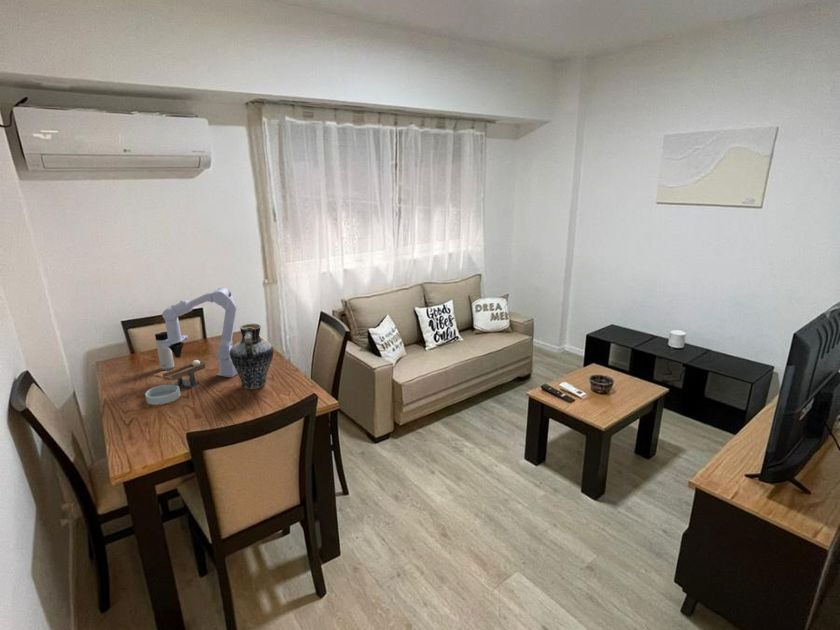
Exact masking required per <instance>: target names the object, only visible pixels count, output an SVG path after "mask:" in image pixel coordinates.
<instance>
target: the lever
mask: <svg viewBox="0 0 840 630" xmlns="http://www.w3.org/2000/svg"><path fill="white" fill-rule="evenodd" d="M197 360H198V359H197ZM198 361H200V365H197V366H195V367H194V366H193V365H192V363H193V362H192V363H189V364H186V365H184V366H180V367H178V368H174V369H171V370H167V371H163V370H161V371H159V372H157V373H154V374H153V378H159V379H163V380H167V381H176V380H177V379H179V378H181V377H182V378H184V377H186V376H189V373H190V372H192V371H193V372H194V373H196V372H198V371H201V370H205V369H206V363H205V361H204V360H198ZM189 377H190V376H189Z"/></svg>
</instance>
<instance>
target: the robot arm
mask: <svg viewBox="0 0 840 630" xmlns="http://www.w3.org/2000/svg"><path fill="white" fill-rule="evenodd" d="M206 302H209V303H215V304H216V305H218V306H220V307H222V308H223V309H224V310H225V312H224V319H223V324H222V325H223V326H222V332H221V338H220V339H221V340H220V343H219V347H218V349H217V351H216V352H215V353H216V357H217V359H218V366H219V372H218V373H216V376H220V377H221V376H222V377H226V378H233V377H236V376H237V375H238V372H237V370H236V369H235V367H234V365H233V363H232V360H231V357H230V349H231V348H232V347H233V346H234V344H233V334H234V328H235V323H236V321H235V320H236V315H237V308H238V305H237V303H236V300H235V298H234V297H233V292H231V291H230V290H229V288H227V287H219V288H218V289H217V288H215V289H213V290H211V291H208V292H206V293H203V294H201V295H200V296H198V297H196V298H193V299H191V300H187V299H185V300H184V299H182V300H180V301H179V303H177V304H171V305H170V306H169V307H167V308H166V309H164V310H163V312H162V314H161V315H162V316H161V317H162V318H163V319H164V322H165V327H166V328H165V329H166V332H167V335H168V339H167V342H165V343H164V344H162V348H164V349H166V348H167V347H169V348H170V349H171V350H172V355H174V356H173V357H175V358H176V359H178V358H179V359H180V358H181V356H182V350H183V347H184V344H185V343H184V341H185V340H188V339H189V336H188V335H187V334H183V335H182V333H181V327H180V321H179V317H181V316H183V315H185V314H187V313H190V312H192V311H193V309H194V307H197V306H199V305H201V304H204V303H206Z"/></svg>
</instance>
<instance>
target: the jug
mask: <svg viewBox="0 0 840 630" xmlns="http://www.w3.org/2000/svg"><path fill="white" fill-rule="evenodd" d="M261 327H262V326H261V325H260V324H258V323H247V324H243V325H241V326H239V331H240V333H241V340H240V341H239V342H237V343H235V344H233V347H232V348H231V349H230V357H231V360H232V363H233V365H234V367H235V369H236V370H237V372H238V374H237V375H238V376H239V380H240V382H241V386H242V388H244V389H247V390H256V389H259V388H262V387H263V386H265V385H266V382H267V375H268V372H269V369H270V365H271V364H272V361H273V358H274V357H273V356H274V347H273V345H272V343H270V342H268V341H266V340H263V339H261V336H260V333H261Z"/></svg>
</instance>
